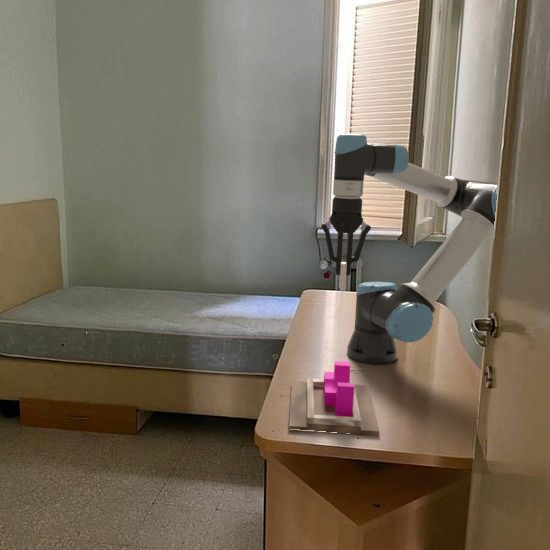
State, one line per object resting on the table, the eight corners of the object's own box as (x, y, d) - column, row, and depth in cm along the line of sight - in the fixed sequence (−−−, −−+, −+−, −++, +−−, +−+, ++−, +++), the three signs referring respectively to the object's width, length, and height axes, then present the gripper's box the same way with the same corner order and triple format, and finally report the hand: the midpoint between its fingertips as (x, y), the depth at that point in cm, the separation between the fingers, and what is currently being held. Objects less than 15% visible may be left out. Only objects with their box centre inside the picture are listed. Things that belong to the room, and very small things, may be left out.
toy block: (323, 387, 139) (324, 360, 138) (347, 388, 139) (349, 361, 137) (325, 415, 125) (326, 385, 123) (352, 416, 124) (354, 386, 123)
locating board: (367, 389, 142) (368, 379, 141) (379, 436, 119) (380, 425, 118) (292, 385, 143) (292, 375, 142) (288, 430, 120) (289, 419, 119)
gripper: (322, 197, 132) (317, 289, 138) (375, 199, 132) (368, 291, 137) (321, 194, 140) (317, 282, 145) (371, 196, 139) (365, 284, 145)
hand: (342, 286), depth 141 cm, fingers closed
